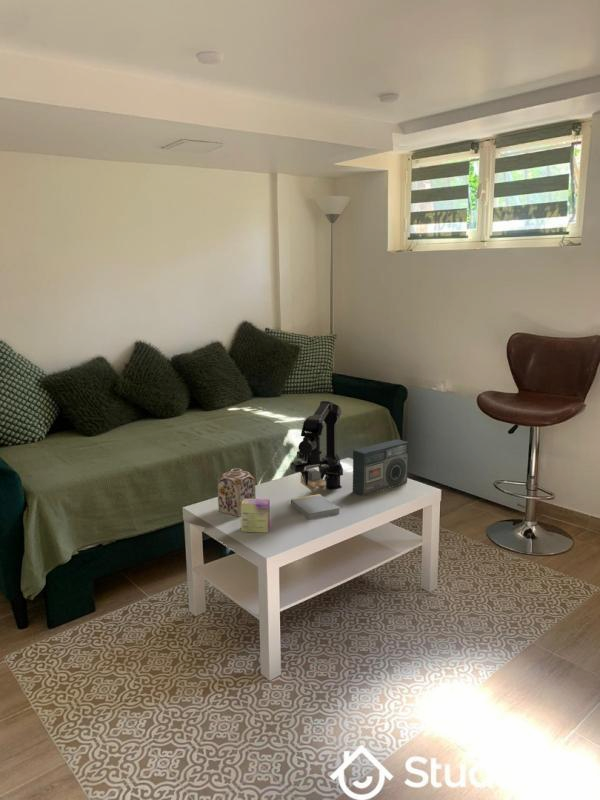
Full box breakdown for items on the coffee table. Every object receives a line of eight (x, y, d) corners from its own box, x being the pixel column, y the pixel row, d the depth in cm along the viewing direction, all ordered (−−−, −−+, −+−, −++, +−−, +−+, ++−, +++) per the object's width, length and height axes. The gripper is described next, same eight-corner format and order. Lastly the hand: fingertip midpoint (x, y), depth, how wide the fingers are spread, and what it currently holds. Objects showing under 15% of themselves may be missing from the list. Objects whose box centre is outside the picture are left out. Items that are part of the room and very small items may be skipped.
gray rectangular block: (314, 475, 259) (314, 468, 258) (320, 479, 253) (320, 472, 253) (305, 476, 257) (305, 469, 256) (311, 480, 252) (311, 474, 251)
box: (270, 527, 239) (269, 498, 237) (268, 533, 234) (267, 504, 231) (244, 526, 240) (243, 498, 238) (241, 532, 235) (240, 503, 232)
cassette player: (363, 496, 272) (364, 453, 268) (352, 492, 278) (353, 450, 273) (407, 482, 290) (408, 442, 286) (396, 478, 295) (397, 439, 291)
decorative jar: (239, 517, 248) (238, 476, 245) (217, 512, 255) (216, 471, 251) (256, 508, 258) (256, 468, 255) (235, 503, 264) (234, 463, 261)
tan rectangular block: (313, 480, 263) (313, 473, 262) (325, 489, 252) (325, 481, 251) (300, 482, 260) (300, 474, 259) (312, 491, 249) (312, 483, 249)
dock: (319, 499, 268) (319, 493, 268) (339, 513, 252) (339, 507, 252) (290, 504, 262) (290, 498, 262) (308, 519, 246) (308, 513, 246)
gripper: (324, 440, 264) (324, 475, 267) (285, 445, 256) (285, 481, 259) (336, 447, 254) (336, 482, 257) (295, 452, 246) (296, 489, 249)
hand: (313, 483), depth 256 cm, fingers closed on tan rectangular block, 6 cm apart
